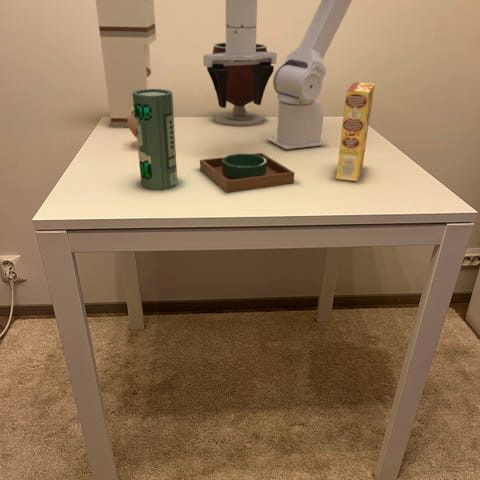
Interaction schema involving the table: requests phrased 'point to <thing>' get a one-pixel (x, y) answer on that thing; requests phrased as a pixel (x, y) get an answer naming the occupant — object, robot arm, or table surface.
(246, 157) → the green round bowl
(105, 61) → the striped cream pillar
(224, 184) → the tray
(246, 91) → the mate gourd
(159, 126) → the can
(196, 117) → the table surface
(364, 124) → the candy box
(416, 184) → the table surface
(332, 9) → the robot arm
